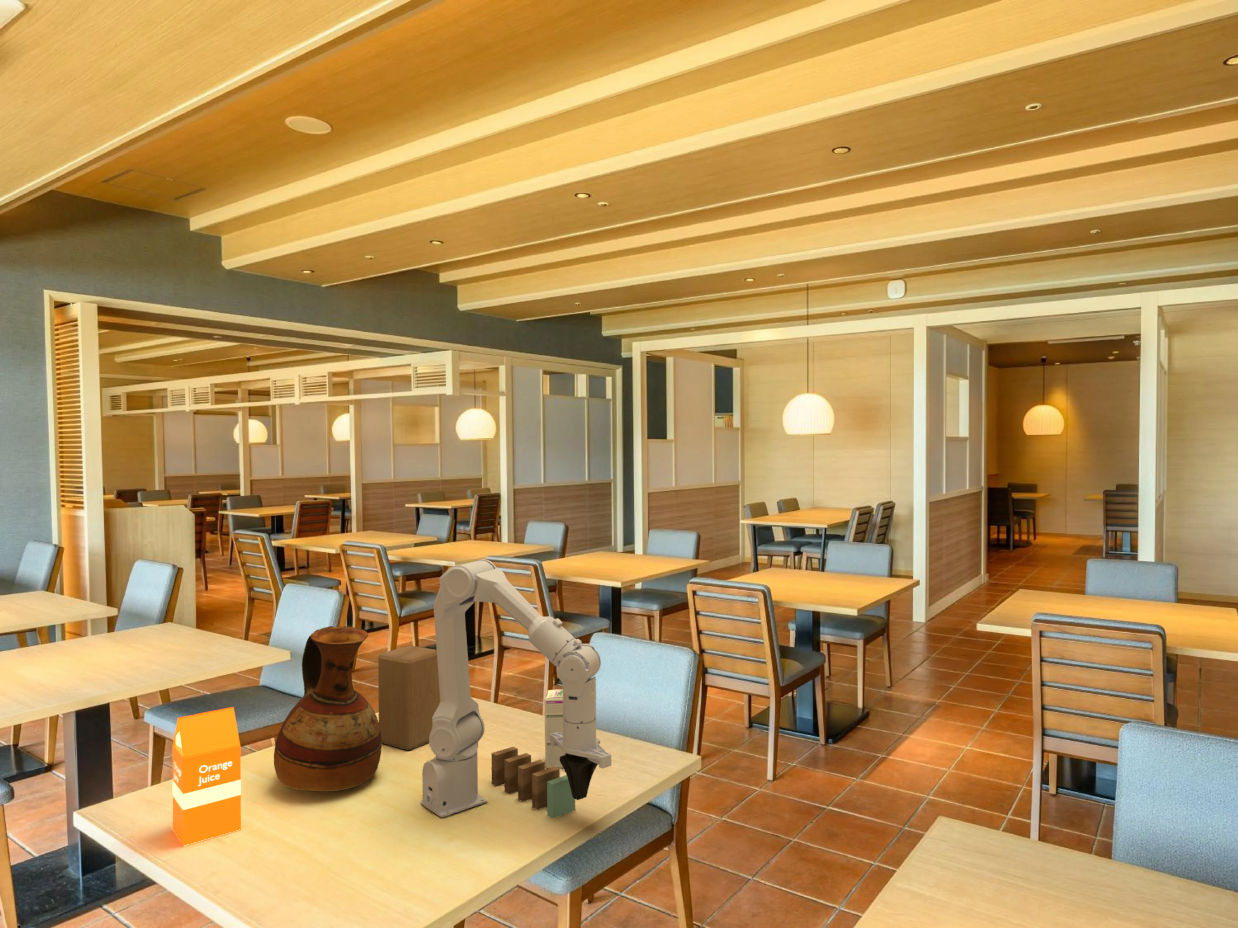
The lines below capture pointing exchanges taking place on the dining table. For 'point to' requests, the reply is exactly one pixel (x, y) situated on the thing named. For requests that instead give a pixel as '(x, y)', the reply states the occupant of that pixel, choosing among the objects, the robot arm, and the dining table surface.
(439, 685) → the robot arm
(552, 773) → the domino
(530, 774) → the domino
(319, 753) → the ceramic pitcher
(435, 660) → the wooden block
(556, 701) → the syrup box
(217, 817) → the orange juice
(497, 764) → the domino
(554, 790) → the green domino
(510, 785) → the domino
